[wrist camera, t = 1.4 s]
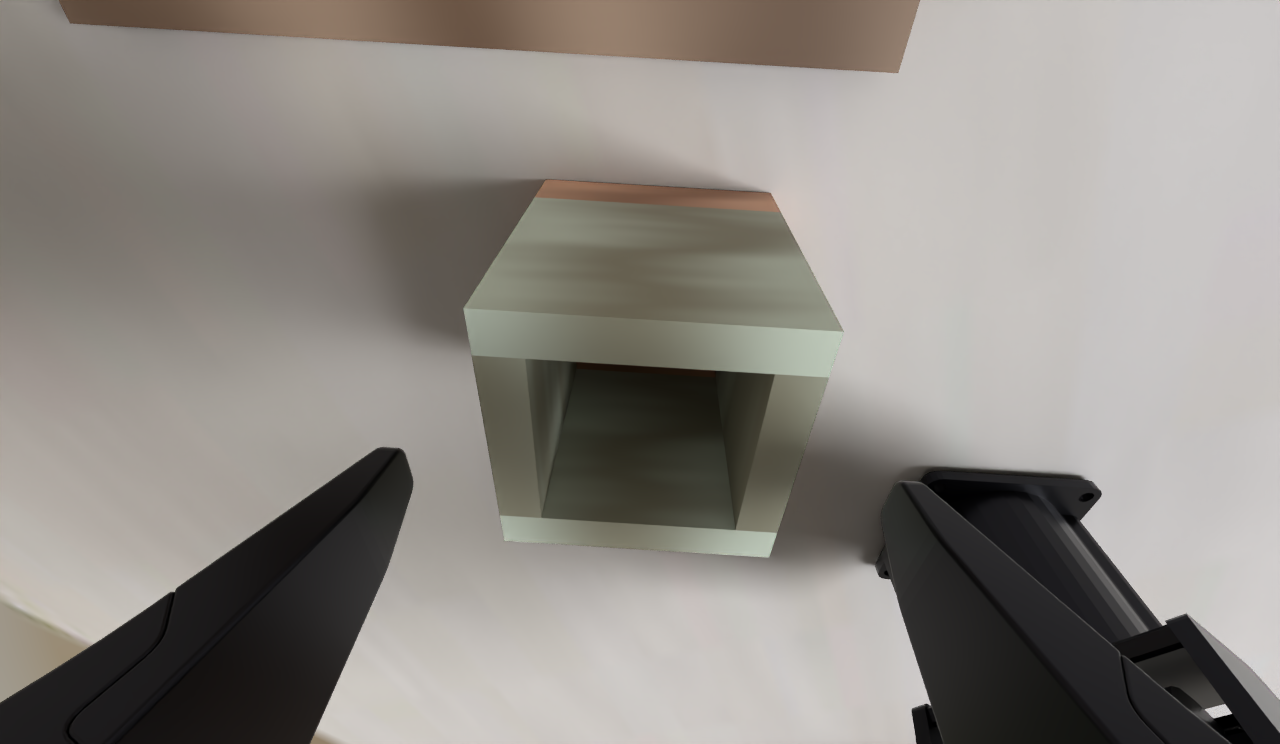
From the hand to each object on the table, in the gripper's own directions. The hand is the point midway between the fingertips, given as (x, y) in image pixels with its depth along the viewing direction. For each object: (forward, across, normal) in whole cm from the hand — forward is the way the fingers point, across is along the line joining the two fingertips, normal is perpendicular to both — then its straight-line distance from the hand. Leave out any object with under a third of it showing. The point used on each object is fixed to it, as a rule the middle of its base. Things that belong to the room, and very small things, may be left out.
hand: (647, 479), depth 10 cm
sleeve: (+8, 0, 0) cm, 8 cm away
